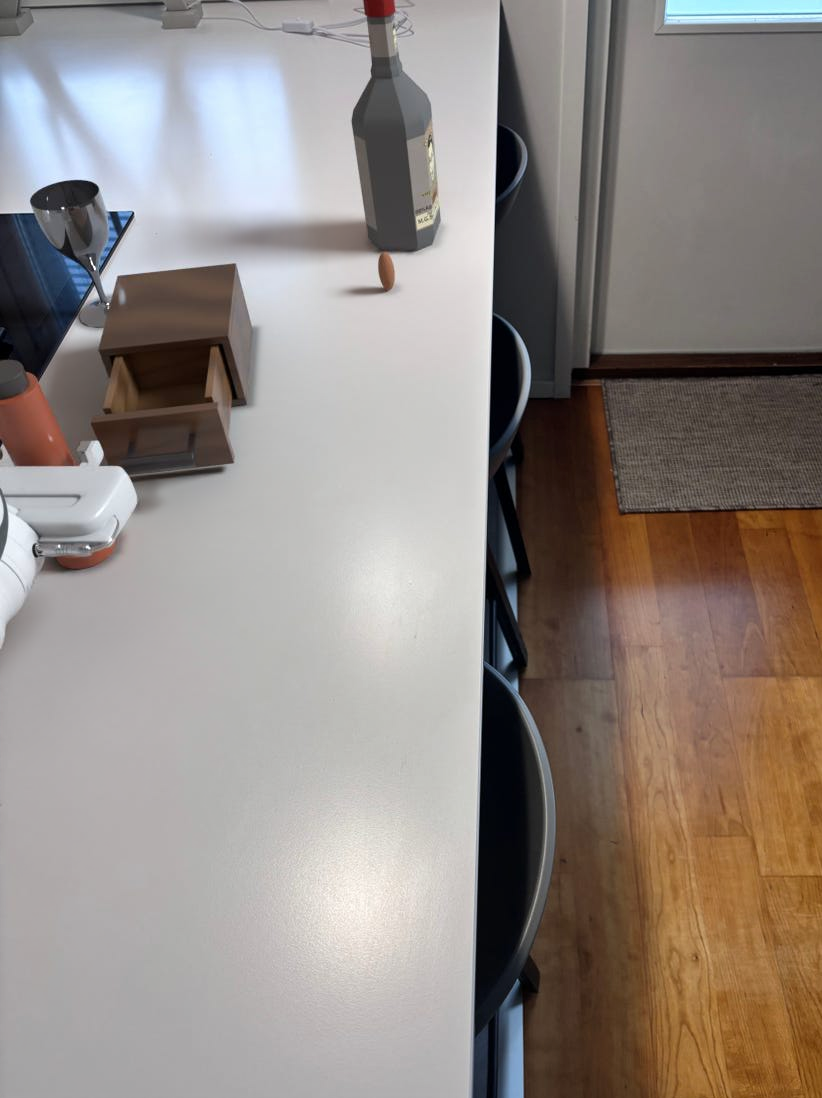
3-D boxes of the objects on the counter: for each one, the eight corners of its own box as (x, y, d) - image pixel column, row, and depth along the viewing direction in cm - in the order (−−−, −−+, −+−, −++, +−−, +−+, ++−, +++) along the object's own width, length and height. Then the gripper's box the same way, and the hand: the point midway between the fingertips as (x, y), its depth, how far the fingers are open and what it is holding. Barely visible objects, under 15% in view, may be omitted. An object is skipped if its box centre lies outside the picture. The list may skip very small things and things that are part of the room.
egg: (394, 294, 125) (389, 256, 121) (379, 293, 125) (373, 255, 121) (398, 286, 126) (393, 248, 122) (383, 285, 126) (378, 248, 123)
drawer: (232, 491, 99) (214, 435, 94) (107, 505, 99) (82, 450, 94) (241, 383, 112) (226, 329, 107) (130, 396, 111) (110, 342, 106)
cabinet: (247, 404, 111) (228, 335, 104) (124, 418, 110) (97, 349, 103) (253, 330, 121) (235, 262, 114) (140, 342, 120) (117, 275, 114)
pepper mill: (51, 572, 94) (-44, 396, 79) (61, 531, 98) (-28, 356, 83) (112, 565, 94) (29, 388, 79) (119, 525, 98) (42, 348, 83)
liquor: (366, 251, 132) (328, -5, 110) (379, 219, 138) (346, -30, 116) (432, 252, 131) (408, -6, 109) (443, 220, 137) (422, -32, 115)
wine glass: (152, 302, 127) (113, 185, 115) (112, 333, 122) (68, 215, 111) (103, 291, 129) (61, 175, 118) (63, 322, 125) (15, 204, 113)
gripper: (92, 525, 76) (144, 416, 85) (-158, 524, 77) (-81, 418, 86) (119, 582, 80) (165, 474, 89) (-117, 580, 82) (-49, 474, 91)
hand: (42, 446), depth 88 cm, fingers open, 8 cm apart
